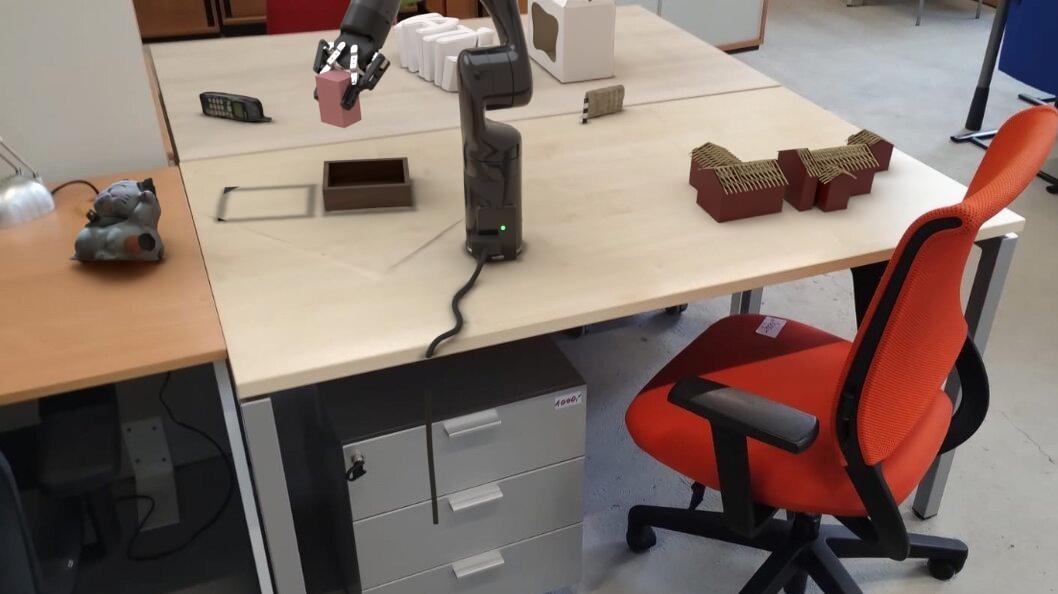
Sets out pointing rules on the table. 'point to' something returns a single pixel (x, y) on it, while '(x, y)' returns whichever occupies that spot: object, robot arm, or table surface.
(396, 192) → the crate
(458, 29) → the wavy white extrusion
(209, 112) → the mobile phone
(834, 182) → the toy houses
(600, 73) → the gable box
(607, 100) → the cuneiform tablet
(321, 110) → the block
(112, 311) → the table surface
